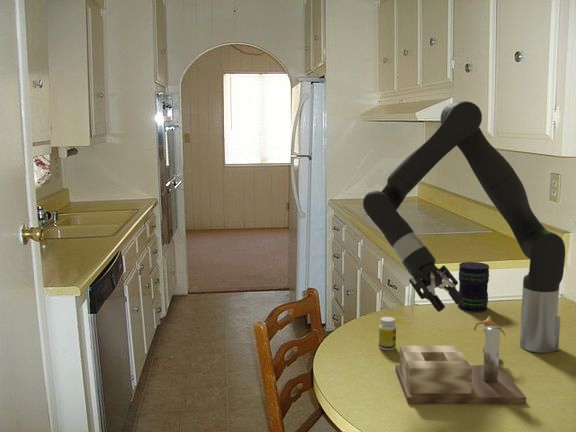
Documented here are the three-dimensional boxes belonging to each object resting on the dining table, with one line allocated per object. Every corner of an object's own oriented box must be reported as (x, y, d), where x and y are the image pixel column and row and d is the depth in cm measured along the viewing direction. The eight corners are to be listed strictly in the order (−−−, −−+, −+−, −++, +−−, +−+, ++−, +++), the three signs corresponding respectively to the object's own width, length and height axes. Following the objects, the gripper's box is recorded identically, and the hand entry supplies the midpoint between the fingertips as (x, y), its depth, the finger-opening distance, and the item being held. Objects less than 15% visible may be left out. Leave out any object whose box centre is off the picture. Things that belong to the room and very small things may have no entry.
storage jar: (452, 304, 205) (453, 262, 203) (477, 302, 208) (479, 261, 205) (467, 313, 196) (468, 269, 193) (493, 311, 198) (495, 267, 196)
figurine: (508, 358, 158) (510, 315, 156) (501, 365, 153) (503, 321, 151) (477, 351, 163) (478, 309, 161) (469, 358, 158) (471, 315, 156)
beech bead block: (455, 368, 148) (456, 345, 147) (471, 393, 134) (472, 368, 134) (399, 368, 149) (399, 345, 148) (409, 393, 135) (410, 368, 134)
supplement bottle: (395, 351, 164) (396, 322, 163) (378, 350, 165) (378, 321, 164) (395, 345, 169) (396, 316, 167) (379, 344, 170) (379, 315, 168)
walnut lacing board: (499, 370, 150) (499, 365, 150) (526, 403, 132) (526, 397, 132) (395, 370, 151) (395, 365, 151) (407, 403, 133) (407, 397, 133)
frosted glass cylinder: (495, 377, 143) (497, 325, 141) (499, 383, 140) (502, 330, 138) (481, 377, 143) (483, 325, 141) (485, 383, 140) (487, 330, 138)
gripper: (406, 249, 146) (445, 304, 140) (438, 241, 156) (476, 292, 149) (388, 267, 151) (425, 320, 144) (420, 258, 160) (456, 307, 154)
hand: (451, 306), depth 147 cm, fingers open, 8 cm apart
